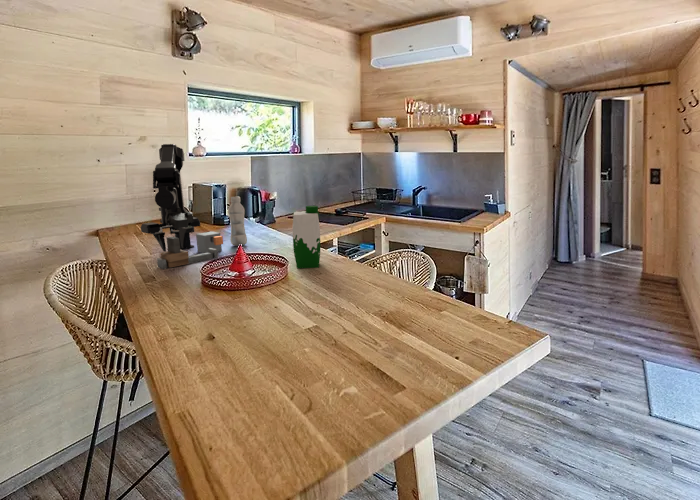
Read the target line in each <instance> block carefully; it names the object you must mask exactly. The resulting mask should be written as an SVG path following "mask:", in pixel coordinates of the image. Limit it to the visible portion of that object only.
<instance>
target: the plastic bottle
mask: <svg viewBox="0 0 700 500" xmlns="http://www.w3.org/2000/svg"><path fill="white" fill-rule="evenodd" d="M230 202H231V204H230V205H229V207H228V209H227V212H228V216H229V221H230V222H229V223H230V244H231V245H232V246H235V247H239V246H238V245H239V244H242V246H245V245H246V244H247V242H248V237H247V236H248V235H247V234H246V227H245V213H246V211H245V207H244V205H242V204H241V197H240V196H230Z"/></svg>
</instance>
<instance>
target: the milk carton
mask: <svg viewBox="0 0 700 500" xmlns="http://www.w3.org/2000/svg"><path fill="white" fill-rule="evenodd" d="M319 216H320V213H319V206H318V205H307V206H305V210H303V211H302V210H301V211H294V212H293V218H292V247H293V254H294V261H295V264H296V268H297V269H317V268H318V269H319V268H320V260H321V226H320V221H319V218H320V217H319Z"/></svg>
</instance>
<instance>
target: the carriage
mask: <svg viewBox="0 0 700 500" xmlns="http://www.w3.org/2000/svg"><path fill="white" fill-rule="evenodd" d="M166 248H167V250H166V252H164V251H163V252H160V253H159V255H160V258H162V259H166V261H167V262H168V267H169V269H171V268H175V267H180V266H185V265H189V264H190V263H189V262H188V258H189V256H190V255H189V251H187V250H185V249H180V242H179V238H176V237H175V236H167V237H166Z"/></svg>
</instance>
